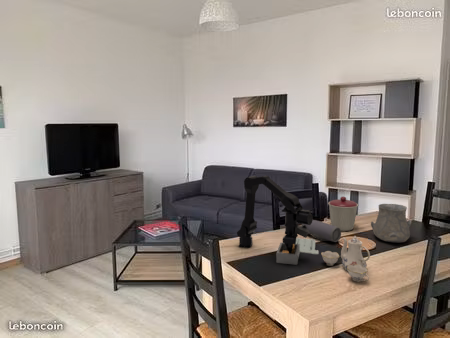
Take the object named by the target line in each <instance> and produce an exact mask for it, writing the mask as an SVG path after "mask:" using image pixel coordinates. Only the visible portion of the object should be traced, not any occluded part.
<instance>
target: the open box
mask: <svg viewBox="0 0 450 338" xmlns="http://www.w3.org/2000/svg"><path fill="white" fill-rule="evenodd" d="M283 250H287V251H288V249H287V247H286V245H285V243H283V242H280V243H279V246H278V247H277V251H276V255H275V256H276V261H275V262H276V263H277V264H285V265H287V264H288V265H294V266H295V265H296V266H297V265H298V263H299V258H300V253H301V252H300V244H295V254H290V253H282V252H283Z"/></svg>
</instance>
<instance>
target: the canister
mask: <svg viewBox="0 0 450 338" xmlns="http://www.w3.org/2000/svg"><path fill="white" fill-rule="evenodd" d="M327 204H328V206H329V207H328V208H329V219H330V225H333V226H336V227H338V228H340V230H341V232H349V231H352V230H353V228H354V227H355V223H356V218H357V217H356V215H357V210H358V206H359V204H358V203H357V202H356V201H354V200H348V199H347V197H345V196H341V197H340V198H339V199H332V200H330V201H328V203H327Z"/></svg>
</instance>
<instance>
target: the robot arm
mask: <svg viewBox="0 0 450 338" xmlns="http://www.w3.org/2000/svg"><path fill="white" fill-rule="evenodd" d="M260 185H263V186H264V187H265V188H267V189H268V190H269V191H270V192H272V194H274V195H275V196H276V197H277V198H279V200H280V202H281V204H282V205H283V207H284V208H283V209H282V210H281V212H282V213H283V212H284V213H285V223H284V227H285V228H284V229H285V230H284V236H283V237H282V243H285V245H286V247H287V249H288V252H289V253H291V252H292V248H293V244H296V238H299V236H300V237H303V239H305V238H306V239H307V236H308V235H309V234H308V232H309V230H308V229H307V226H306V225H311V223H312V221H313V220H314V219H313V218H314V217H313V214H312V211H311V210H306V209H304V207H303V206H302V204H301V203H300V198H299V197H298V196H296V195H295V194H293V193H290V192H289V191H286V190H285V189H284V188H282V187H281V186H280V185H279V184H277V183H276V182H275V181H274V180H273V179H271V177H270V176H268V175H264V176H256V175H252V176H249V177H245V178H244V180H243V188H244V190H245V192H246V195H245V196H246V197H245V206H244V209H245V210H244V218H243V220H242V222H241V223H240V224H241V225H240V229H238V230H237V232H236V235H237V237H239V238H238V239H239V240H238V241H239V245H238V248H246V249H251V248H252V245H253V237H252V235H253V234H254V232H255V231H257V230H256V229H257V228H258V227H257V223H258V221H257V220H255V217H254V216H255V205H256V203H255V202H256V193H257V191H258V190H259V187H260ZM299 224H300V225H299ZM302 224H306V225H303V226H302V227H301V225H302Z"/></svg>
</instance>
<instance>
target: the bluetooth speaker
mask: <svg viewBox="0 0 450 338" xmlns="http://www.w3.org/2000/svg"><path fill="white" fill-rule="evenodd" d="M303 225H306V224H300V226H301V227H302V226H303ZM306 226H307V229H308V230H309V232H308V234H307V235H309V236H310V235H311V236H312V238H315V239H317V240H320V241H324V242H333V243H337V242H338V241H339V240H340V239H341V237H342V231H341V230H340V228H338V227H336V226H333V225H331V223H330V224H329V223H327V222H323V221H320V220H316V219H313V221H312V223H311V225H306Z"/></svg>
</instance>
